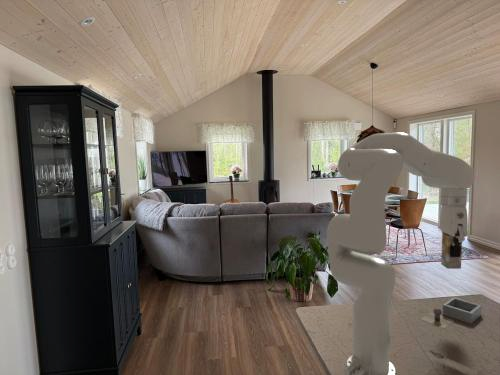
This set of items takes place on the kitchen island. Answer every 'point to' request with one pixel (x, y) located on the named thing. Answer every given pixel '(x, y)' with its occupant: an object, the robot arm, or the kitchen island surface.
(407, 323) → the kitchen island surface
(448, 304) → the bin
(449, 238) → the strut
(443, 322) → the stud plate
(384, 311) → the robot arm
